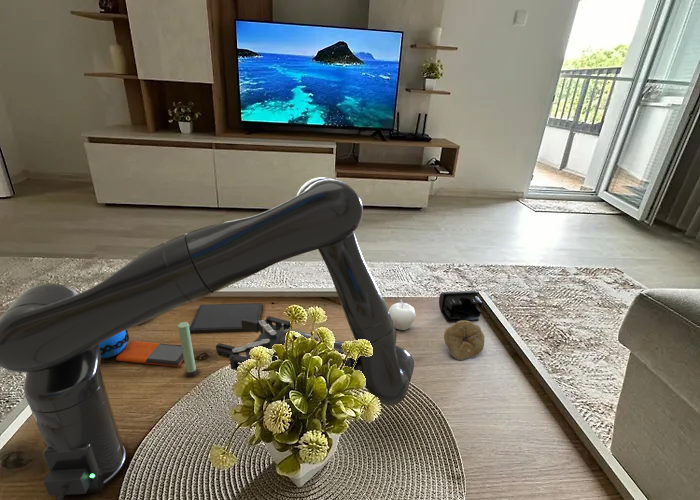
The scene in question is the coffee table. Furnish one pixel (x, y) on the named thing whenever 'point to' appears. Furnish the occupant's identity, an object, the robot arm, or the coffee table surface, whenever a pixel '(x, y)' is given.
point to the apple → (402, 315)
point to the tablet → (224, 317)
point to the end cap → (460, 306)
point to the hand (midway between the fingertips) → (230, 335)
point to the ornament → (114, 344)
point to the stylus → (187, 348)
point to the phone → (152, 354)
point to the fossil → (464, 340)
